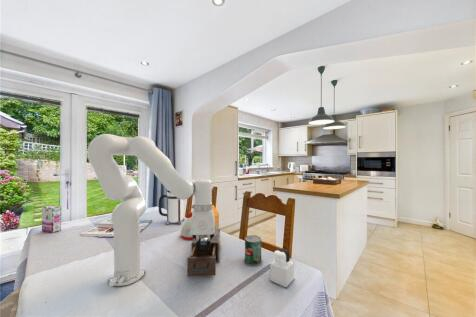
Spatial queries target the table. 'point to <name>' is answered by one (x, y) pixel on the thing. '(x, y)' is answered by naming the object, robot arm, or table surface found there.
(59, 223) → the candy bar box
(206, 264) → the drawer
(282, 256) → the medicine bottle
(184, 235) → the kitchen timer
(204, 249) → the black and silver block
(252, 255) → the canned tomato
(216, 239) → the cabinet
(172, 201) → the coffee press
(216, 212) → the orange juice
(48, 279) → the table surface
